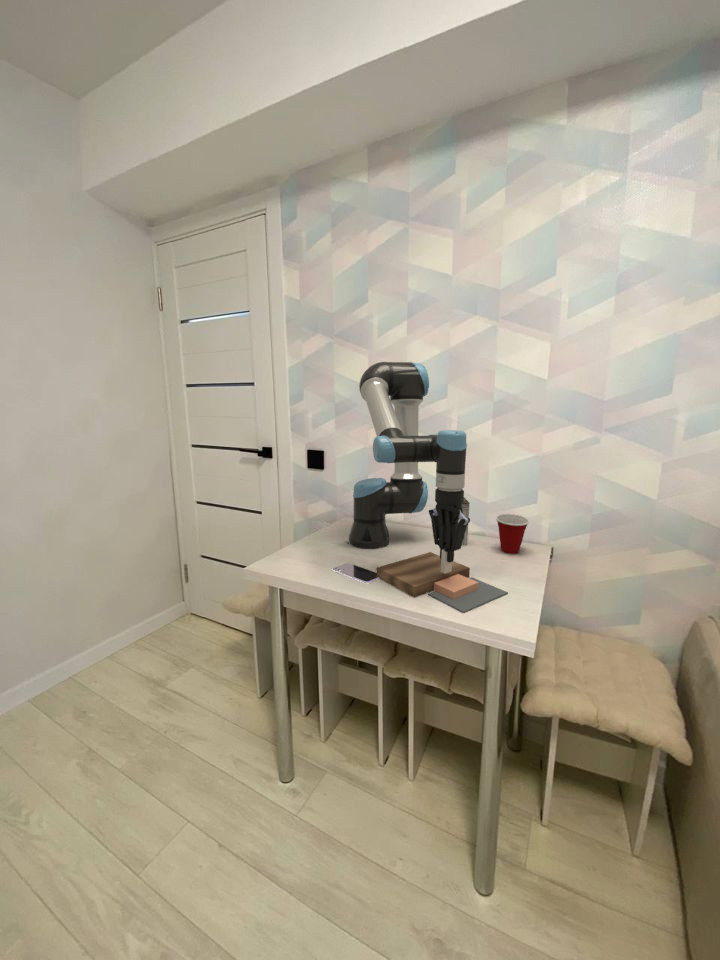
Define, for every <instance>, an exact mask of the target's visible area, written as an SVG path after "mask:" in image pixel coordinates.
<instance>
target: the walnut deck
mask: <svg viewBox="0 0 720 960" xmlns="http://www.w3.org/2000/svg"><path fill="white" fill-rule="evenodd" d="M470 569H471V567H468V566H466V565H463V564H461V563H459V562H456V561H453V562H452V571H451V572H448V573H446V574H444V573H442V572H441V559H440V554H439V555H438V554H436V553H433V552H432V551H428V552H425V553H422V554H418V555H414V556H412V557H408V558H405V559H401V560H398V561H395V562H391V563H386V564H384V565H381V566H377V567H376V573H377V576H378V577H379V578H380V579H379V580H381V579H382V581H383V580H384V581H383V582H385V583H387V584H388V583H389V585H390V584H391V585H390V586H393V587H394V588H396V589H398V590H399V589H400V590H399V591H402V592H403V593H404V594H407V595H408V596H411V597H412V598H417V597H420V596H422V595H426V594H428V593H431V592H434V591H435V590H434V583H435V582H438V581H440V580H443V579H446V578H448V577H451V576H454V575H457V574H460V575H462V576H464V577H467V578H470Z"/></svg>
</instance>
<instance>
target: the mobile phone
mask: <svg viewBox="0 0 720 960" xmlns="http://www.w3.org/2000/svg"><path fill="white" fill-rule="evenodd" d="M332 569H333V570H335V571H338V572H340V573H342V574H345V575H347V576H350V577H352V578H354V579H357V580H359V581H358V582H360V581H362V582H364V583H363V584H365V583H369V584H371V583H373V582H375V581H377V580H380V579H379V577H378V576H377V571H373V570H370V569H368V568H365V567H362V566H358V565H356V564H353V563H350V562H344V563H342V564H340V565H337V566H335V567H333V568H332ZM347 576H346V577H347ZM352 578H351V579H352ZM354 579H353V580H354ZM376 579H377V580H376ZM357 580H356V581H357ZM374 580H375V581H374ZM372 581H373V582H372ZM362 582H361V583H362ZM370 582H371V583H370Z"/></svg>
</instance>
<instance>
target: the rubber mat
mask: <svg viewBox="0 0 720 960" xmlns="http://www.w3.org/2000/svg"><path fill="white" fill-rule="evenodd" d="M469 579H472V580H474V581H477V582H478V589H477V590H475V591H473V592H470V593H468V594H466V595H463V596H461V597H459V598H456V599H452V598H450V597H448V596H446V595H443V594H441V593H439V592H437V591H435V590H434V591H431V592H428V593H427V596H428V597H431V598H433V599H435V600H437V601H439V602H441V603H443V604H444V605H446V606H448V607H450V608H452V609H455V610H456V611H458V612H460V613H462V614H465V613H467V612H470V611H473V610H475V609H477V608H479V607H481V606H483V605H486V604H489V603H490V602H493V601H495V600H496V599H499V598H503V597H504V596H506V595H508V594H509V592H508V591H506V590H503V589H501V588H498V587H496V586H495V585H491V584H490V583H487V582H484V581H482V580H479V579H477V578H475V577H469Z"/></svg>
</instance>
